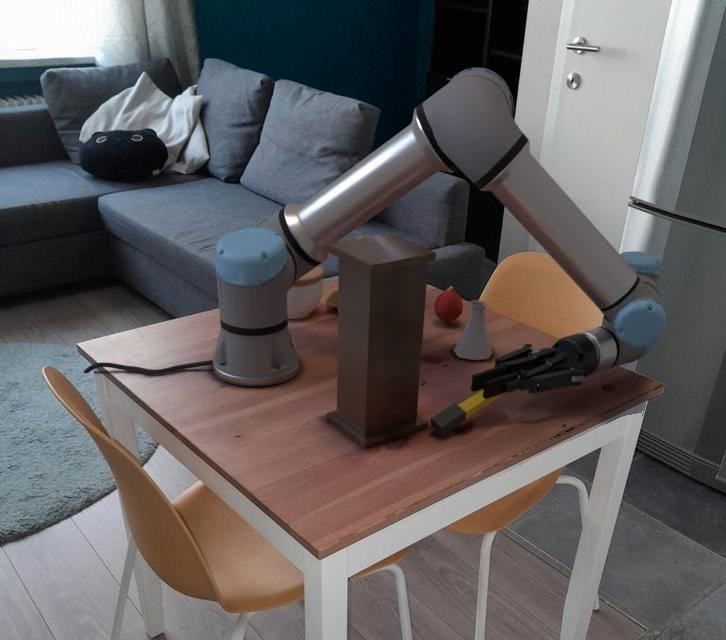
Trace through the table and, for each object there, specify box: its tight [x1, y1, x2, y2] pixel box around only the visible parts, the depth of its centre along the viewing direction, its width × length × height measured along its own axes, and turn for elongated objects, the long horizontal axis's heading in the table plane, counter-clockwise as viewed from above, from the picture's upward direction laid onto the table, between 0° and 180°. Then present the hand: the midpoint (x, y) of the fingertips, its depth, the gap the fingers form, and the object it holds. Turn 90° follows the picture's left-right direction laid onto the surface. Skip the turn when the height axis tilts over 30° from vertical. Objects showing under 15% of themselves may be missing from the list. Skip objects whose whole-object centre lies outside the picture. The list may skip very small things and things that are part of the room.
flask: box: [453, 299, 493, 361], centre depth 149 cm, size 7×7×10 cm
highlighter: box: [430, 389, 506, 437], centre depth 126 cm, size 16×3×2 cm, turn 124°
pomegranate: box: [433, 286, 464, 325], centre depth 161 cm, size 6×6×8 cm
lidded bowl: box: [287, 265, 325, 320], centre depth 163 cm, size 13×13×11 cm
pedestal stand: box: [325, 232, 437, 449], centre depth 120 cm, size 12×11×28 cm
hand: (479, 386), depth 125 cm, fingers closed on highlighter, 2 cm apart
